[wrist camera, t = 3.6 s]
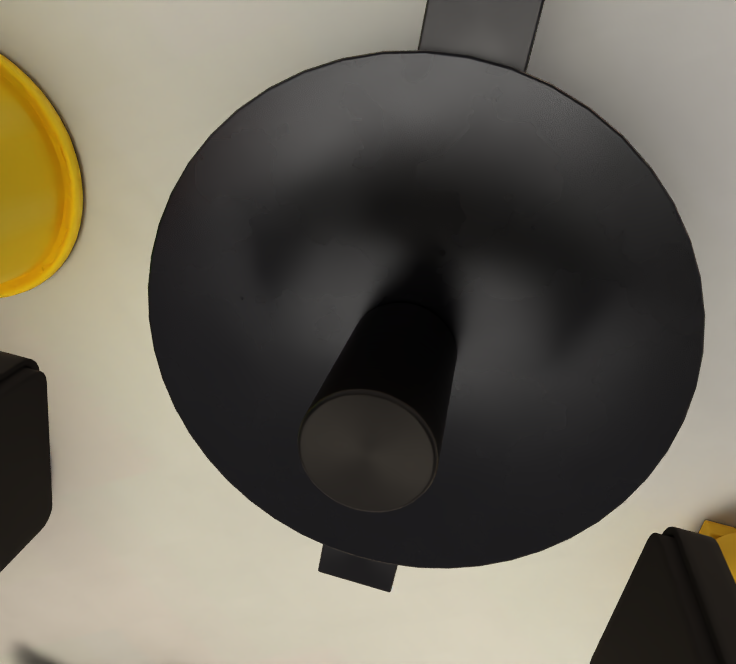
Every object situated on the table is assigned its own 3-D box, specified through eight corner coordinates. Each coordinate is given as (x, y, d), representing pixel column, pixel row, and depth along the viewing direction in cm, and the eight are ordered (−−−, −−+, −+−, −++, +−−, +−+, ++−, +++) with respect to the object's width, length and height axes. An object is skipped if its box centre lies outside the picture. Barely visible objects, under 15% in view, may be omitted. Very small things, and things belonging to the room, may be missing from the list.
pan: (711, 16, 19) (836, -10, 12) (538, 494, 26) (549, 658, 19) (307, -57, 20) (195, -120, 13) (252, 417, 28) (161, 543, 20)
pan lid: (797, 118, 13) (979, 157, 8) (587, 595, 19) (616, 794, 14) (180, -2, 15) (5, -33, 9) (158, 473, 20) (40, 612, 15)
